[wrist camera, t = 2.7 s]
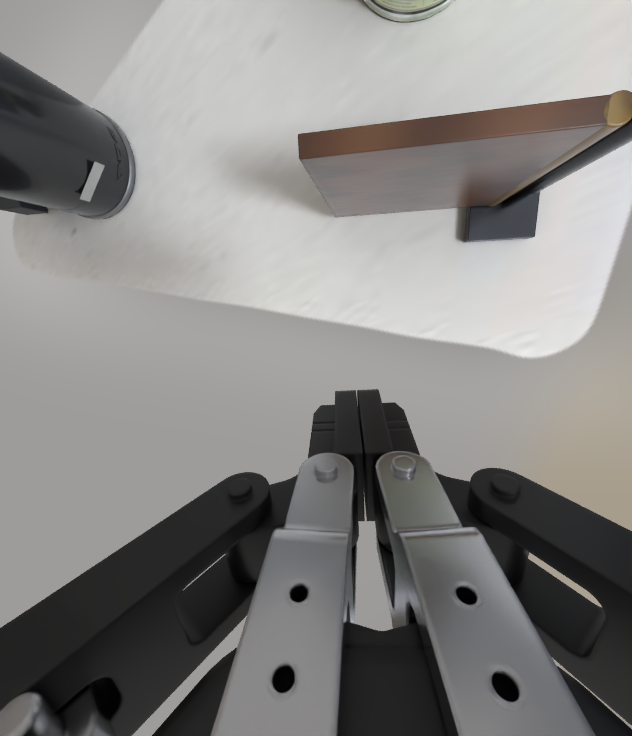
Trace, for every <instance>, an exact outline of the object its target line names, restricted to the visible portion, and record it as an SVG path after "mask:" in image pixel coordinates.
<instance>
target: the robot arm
mask: <svg viewBox="0 0 632 736" xmlns="http://www.w3.org/2000/svg"><path fill="white" fill-rule="evenodd" d="M134 183H135V162H134V156H133V153H132V149H131V147H130V144H129V142H128V140H127V138H126V136H125V134H124V133H123V131H122V130H121V129H120V127H119V126H118V125H117V124H116V123H115V122H114V121H113V120H112V119H110V118H109V117H108V116H106V115H104V114H103V113H101V112H99V111H98V110H95V109H93V108H91V107H89V106H87V105H86V104H84V103H82V102H81V101H79V100H77V99H76V98H74V97H73V96H71V95H69V94H68V93H66V92H65V91H63V90H61V89H60V88H58V87H57V86H55V85H53V84H52V83H50V82H48V81H47V80H45V79H43V78H42V77H40V76H38V75H37V74H35V73H33V72H32V71H30V70H28V69H27V68H25V67H24V66H22V65H20V64H19V63H17V62H15V61H14V60H12V59H10V58H9V57H7V56H5V55H4V54H2V53H1V52H0V210H5V211H10V212H15V213H20V214H26V215H30V214H41V213H48V210H47V207H49V208H53V209H57V210H61V211H66V212H70V213H75V214H78V215H80V216H83V217H88V218H92V219H104V218H108V217H111V216H113V215H115V214H116V213H118V212H119V211H120V210H121V209H122V208H123V207H124V206H125V205H126V203H127V202H128V200H129V198H130V196H131V194H132V191H133V187H134ZM357 397H358V406H357ZM357 397H356V391H355V390H353V391H352V390H351V391H335V405H321V406H320V407H319V408H318V409H317V410H316V412H315V413H314V416H313V425H312V432H311V439H310V447H309V454H308V459H307V460H305V461H304V462H303V463H302V465H301V467H300V469H299V473H298V475H296V476H295V477H293V478H291V479H288V480H286V481H283V482H279V483H275V484H271V485H269V483H268V481H267V480H266V478H264V477H263V476H262V475H260V474H257V473H252V472H245V473H239V474H235V475H233V476H230V477H228V478H226V479H225V480H223V481H221V482H220V483H218V484H217V485H216V486H214V487H212V488H211V489H210V490H208V491H206V492H205V493H203V494H202V495H200V496H199V497H197V498H196V499H194V500H193V501H191V502H190V503H188V504H187V505H185V506H184V507H182V508H181V509H179V510H178V511H176V512H175V513H173V514H172V515H170V516H169V517H167V518H166V519H164V520H163V521H161V522H160V523H158V524H157V525H155V526H154V527H152V528H151V529H149V530H148V531H146V532H145V533H143V534H142V535H141V536H139V537H137V538H136V539H134V540H133V541H131V542H130V543H128V544H127V545H125V546H123V547H122V548H120V549H119V550H118V551H116V552H115V553H113V554H111V555H110V556H108V557H107V558H106V559H104V560H102V561H101V562H99V563H98V564H96V565H95V566H93V567H92V568H90V569H89V570H87V571H86V572H84V573H83V574H81V575H80V576H78V577H77V578H75V579H74V580H72V581H71V582H69V583H68V584H66V585H65V586H63V587H62V588H60V589H59V590H57V591H56V592H54V593H53V594H51V595H50V596H48V597H47V598H45V599H44V600H42V601H41V602H39V603H38V604H36V605H35V606H33V607H32V608H30V609H29V610H27V611H25V612H24V613H22V614H21V615H19V616H18V617H16V618H15V619H14V620H12V621H11V622H9V623H7V624H6V625H4V626H3V627H1V628H0V736H131V735H133V734H134V733H135V732H136V731H137V730H138V728H139V727H140V726H141V725H142V724H143V723H144V722H145V721H146V720H147V719H148V718H149V717H150V716H151V715H152V714H153V713H154V712H155V711H156V710H157V709H158V708H159V707H160V705H161V704H162V703H163V702H164V701H165V700H166V699H167V698H168V697H169V696H170V695H171V694H172V693H173V692H174V691H175V690H176V689H177V687H179V686H180V685H181V684H182V682H183V681H184V680H185V679H186V678H187V677H188V676H189V675H190V674H191V673H192V672H193V671H194V670H195V669H196V668H197V667H198V666H199V665H200V663H202V662H203V660H204V659H205V658H206V657H207V656H208V655H209V654H210V653H211V652H212V651H213V650H214V649H215V648H216V647H217V646H218V645H219V644H220V643H221V642H222V641H223V640H224V639H225V637H226V636H227V635H228V634H229V633H230V632H231V631H232V630H233V629H234V628H235V627H236V626H237V625H238V624H239V623H240V622H241V621H242V620H243V619H244V618H245V617H246V616H247V618H246V621H245V625H244V628H243V631H242V634H241V638H240V641H239V645H238V647H237V648H235V649H234V650H233V651H231V652H230V653H229V654H227V655H226V656H225V657H223V658H222V659H221V660H220V661H219V662H218V663H217V664H216V665H215V666H214V667H212V668H211V669H210V670H209V672H208V673H207V674H206V675H205V676H204V677H203V678H202V679H201V680H200V681H199V683H198V684H197V685H196V686H195V687H194V689H192V691H191V692H190V693H189V694H188V695H187V696H186V697H185V699H184V700H183V701H182V702H181V703H180V704H179V706H178V707H177V708H176V709H175V710H174V711H173V712H172V713H171V714H170V716H169V717H168V718H167V719H166V720H165V721H164V722H163V724H162V725H161V726H160V727H159V728H158V729H157V730H156V732H155V733H154V734H153V735H152V736H632V729H631V728H630V727H628V726H627V725H626V724H625V723H624V722H623V721H622V720H621V719H620V718H619V717H617V716H616V715H615V714H614V713H613V712H612V711H610V709H608V708H607V707H606V706H605V705H604V704H603V703H602V702H601V701H600V700H598V699H597V698H596V697H595V696H594V695H593V694H592V693H591V692H590V691H588V690H587V689H586V688H585V687H584V686H583V685H581V684H580V683H579V682H578V681H577V680H575V679H574V678H573V677H571V676H570V675H569V674H567V673H566V672H565V671H563V670H562V669H561V668H559V667H558V666H556V664H555V663H554V661H553V659H552V658H554V659H555V660H556V661H557V662H558V663H559V664H560V665H562V666H563V667H564V668H565V669H566V670H567V671H569V672H570V673H571V674H572V675H573V676H574V677H576V678H577V679H578V680H579V681H580V682H582V683H583V684H584V685H585V686H586V687H587V688H589V689H590V690H591V691H592V692H593V693H594V694H595V695H597V696H598V697H599V698H600V699H601V700H602V701H604V702H605V703H606V704H607V705H608V706H609V707H611V708H612V709H613V710H614V711H615V712H616V713H618V714H619V715H620V716H621V717H623V719H625V720H626V721H627V722H628V723H629V724H631V725H632V531H630V530H628V529H626V528H624V527H622V526H620V525H618V524H616V523H614V522H612V521H610V520H608V519H606V518H604V517H602V516H600V515H598V514H596V513H594V512H592V511H590V510H588V509H586V508H584V507H582V506H580V505H578V504H577V503H575V502H573V501H571V500H569V499H566V498H565V497H563V496H561V495H558V494H557V493H555V492H553V491H551V490H549V489H547V488H545V487H543V486H541V485H539V484H537V483H535V482H533V481H531V480H529V479H527V478H525V477H523V476H521V475H519V474H517V473H514V472H511V471H509V470H505V469H498V468H487V469H482V470H479V471H477V472H475V473H474V474H473V476H472V477H471V480H470V482H469V481H464V480H459V479H454V478H450V477H446V476H443V475H441V474H438V473H436V472H435V471H434V470H433V468H432V466H431V464H430V463H429V462H428V461H427V460H426V459H425V458H423V457H421V456H420V454H419V451H418V448H417V445H416V443H415V440H414V437H413V434H412V432H411V429H410V426H409V424H408V421H407V418H406V415H405V413H404V410H403V409H402V408H401V407H399V406H398V405H397V404H396V403H382V402H381V398H380V394H379V390H378V389H373V390H358V391H357ZM364 496H365V505H366V516H367V521H375V524H376V533H377V534H376V535H377V536H376V538H377V551H378V556H379V561H380V566H381V570H382V575H383V581H384V585H385V590H386V595H387V600H388V605H389V609H390V614H391V619H392V626H393V629H391V630H388V631H377V630H373V629H369V628H367V627H363V626H360V625H357V624H355V603H356V565H357V541H358V536H359V525H358V521H364ZM529 552H530V553H532V554H533V555H535V556H536V557H538V558H539V559H541V560H542V561H544V562H545V563H547V564H548V565H550V566H551V567H553V568H554V569H556V570H557V571H559V572H560V573H562V574H563V575H565V576H566V577H568V578H569V579H571V580H572V581H574V582H575V583H577V584H578V585H580V586H581V587H583V588H584V589H586V590H587V591H588V592H590V593H591V594H592V595H593V596H594V597H595V598H596V599H597V600H598V602H599V603H600V604H601V605H602V607H603V608H602V607H599V606H597V605H595V604H594V603H592V602H591V601H589V600H588V599H586V598H585V597H583V596H582V595H580V594H579V593H577V592H576V591H575V590H573V589H572V588H570V587H569V586H567V585H566V584H564V583H563V582H561V581H560V580H559V579H557V578H555V577H554V576H552V575H551V574H550V573H548V572H547V571H545V570H544V569H542V568H541V567H539V566H538V565H537V564H535V563H534V562H532V561H530V560H529V559H528V555H529ZM224 554H226V555H225V556H223V557H222V558H221V559H220V560H219V561H218V562H216V563H215V564H214V565H213V566H212V567H211V568H209V569H208V570H207V571H206V572H205V573H203V574H202V575H201V576H200V577H199V578H197V579H196V580H195V581H194V582H193V583H192V584H190V585H189V586H188V587H187V588H186V589H185V590H183V589H184V588H185V587H186V586H187V585H188V584H189V583H190V582H191V581H193V580H194V579H195V578H196V577H198V576H199V575H200V574H201V573H202V572H203V571H205V570H206V569H207V568H208V567H209V566H210V565H212V564H213V563H214V562H215V561H217V560H218V559H219V558H220V557H221V556H222V555H224Z"/></svg>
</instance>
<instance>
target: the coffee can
mask: <svg viewBox="0 0 632 736" xmlns="http://www.w3.org/2000/svg"><path fill="white" fill-rule="evenodd" d="M454 1H455V0H364V2H365V3H366V4H367V5H368V6H369V7H370V8H371V9H372V10H373V11H374V12H376V13H377V14H379V15H380V16H382V17H385V18H387V19H390V20H394V21H399V22H411V21H418V20H422V19H426V18H429V17H431V16H433V15H435V14H436V13H438V12H440V11H442V10H443V9H445V8H446V7H448V6H449V5H450V4H451V3H452V2H454Z"/></svg>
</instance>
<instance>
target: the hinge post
mask: <svg viewBox="0 0 632 736" xmlns="http://www.w3.org/2000/svg"><path fill="white" fill-rule="evenodd" d="M630 141H632V118H631V119H630V120H629V121H628V122H627V123H626V124H624V125H623V126H621V127H620V128H618V129H616V130H615V131H613V132H612V133H610V134H608V135H607V136H605V137H604V138H602V139H600V140H599V141H597V142H596V143H594V144H593V145H591V146H589V147H588V148H586V149H585V150H583V151H581V152H580V153H578V154H577V155H575V156H573V157H572V158H570V159H569V160H567V161H565V162H564V163H562V164H561V165H559V166H557V167H556V168H554V169H553V170H551V171H550V172H548V173H546V174H545V175H543V176H542V177H540V178H538V179H537V180H535V181H534V182H532V183H530V184H529V185H527V186H526V187H524V188H522V189H521V190H519V191H518V192H516V193H514V194H513V195H511V196H510V197H508V198H506V199H505V200H503V201H502V202H500V203H499V204H497V205H495V206H488V205H485V206H472V207H467V209H466V224H465V240H464V242H480V241H496V240H513V239H528V238H532V237H534V236H535V229H536V221H537V212H538V203H539V195H540V191H541V190H543V189H544V188H546V187H548V186H550V185H552V184H553V183H555V182H557V181H559V180H561V179H563V178H564V177H566V176H568V175H570V174H572V173H574V172H575V171H577V170H579V169H581V168H583V167H585V166H586V165H588V164H590V163H592V162H594V161H596V160H597V159H599V158H601V157H603V156H605V155H607V154H608V153H610V152H612V151H614V150H616V149H618V148H619V147H621V146H623V145H625V144H627V143H629V142H630Z"/></svg>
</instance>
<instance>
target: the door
mask: <svg viewBox="0 0 632 736" xmlns="http://www.w3.org/2000/svg"><path fill="white" fill-rule="evenodd" d="M631 118H632V92H630V91H627V90H622V91H617V92H615V93H613V94H611V95H604V96H596V97H588V98H580V99H572V100H564V101H556V102H548V103H540V104H532V105H525V106H517V107H509V108H501V109H493V110H485V111H477V112H469V113H461V114H453V115H445V116H438V117H430V118H422V119H414V120H406V121H398V122H390V123H382V124H374V125H366V126H359V127H351V128H343V129H335V130H327V131H319V132H311V133H303V134H298V146H299V159H300V161H301V163H302V164H303V166H304V167H305V169H306V171H307V172H308V174H309V175H310V177H311V179H312V180H313V182H314V183H315V185H316V187H317V188H318V190H319V191H320V193H321V194H322V196H323V198H324V199H325V201H326V202H327V204H328V206H329V207H330V209H331V210H332V212H333V214H334V215H335V217H345V216H358V215H370V214H383V213H396V212H408V211H421V210H434V209H447V208H459V207H472V206H485V205H488V206H495V205H497V204H499V203H500V202H502V201H503V200H505V199H506V198H508V197H510V196H511V195H513V194H514V193H516V192H518V191H519V190H521V189H522V188H524V187H526V186H527V185H529V184H530V183H532V182H534V181H535V180H537V179H538V178H540V177H542V176H543V175H545V174H546V173H548V172H550V171H551V170H553V169H554V168H556V167H557V166H559V165H561V164H562V163H564V162H565V161H567V160H569V159H570V158H572V157H573V156H575V155H577V154H578V153H580V152H581V151H583V150H585V149H586V148H588V147H589V146H591V145H593V144H594V143H596V142H597V141H599V140H600V139H602V138H604V137H605V136H607V135H608V134H610V133H612V132H613V131H615V130H616V129H618V128H620V127H621V126H623V125H624V124H626V123H627V122H628V121H629V120H630V119H631Z"/></svg>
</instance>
